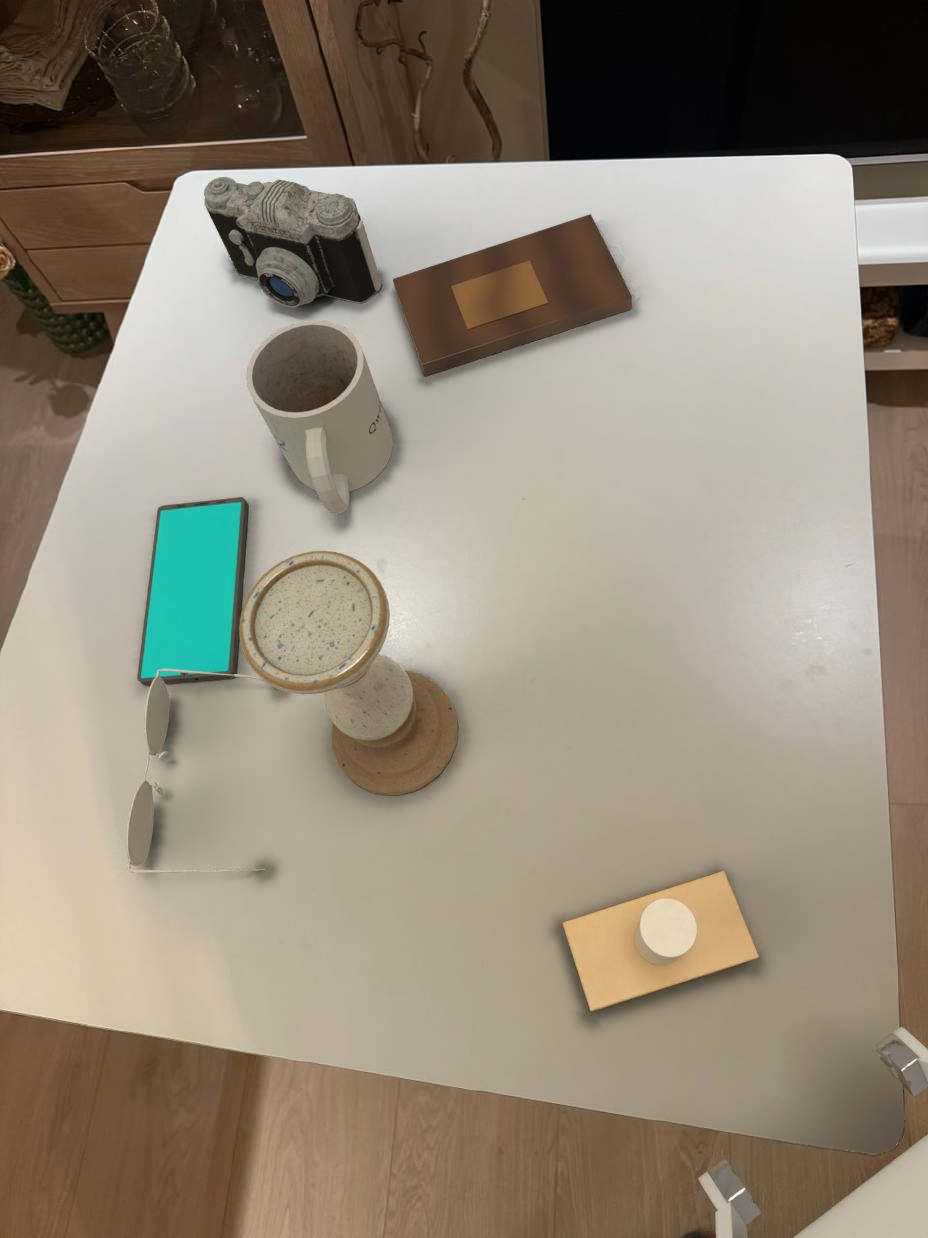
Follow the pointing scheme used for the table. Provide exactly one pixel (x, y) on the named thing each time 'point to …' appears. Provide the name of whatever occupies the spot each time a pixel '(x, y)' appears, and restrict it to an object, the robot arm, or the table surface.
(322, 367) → the mug
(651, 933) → the pillar on tan base
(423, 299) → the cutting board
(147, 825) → the sunglasses
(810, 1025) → the table surface
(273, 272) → the camera
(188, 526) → the smartphone
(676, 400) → the table surface
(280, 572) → the candle holder
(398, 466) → the table surface
